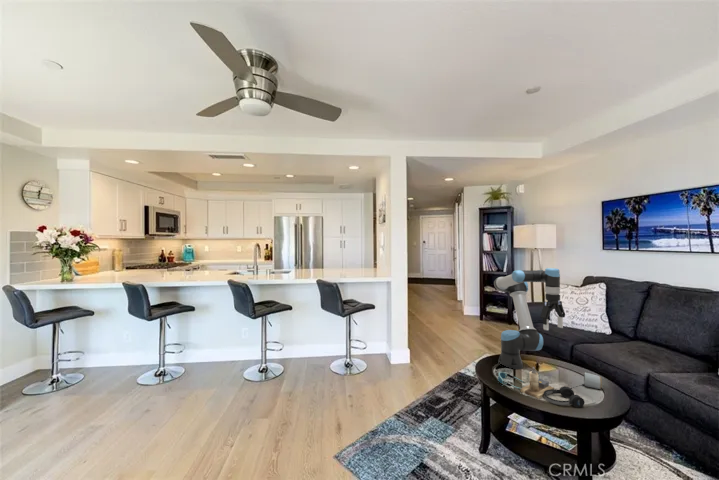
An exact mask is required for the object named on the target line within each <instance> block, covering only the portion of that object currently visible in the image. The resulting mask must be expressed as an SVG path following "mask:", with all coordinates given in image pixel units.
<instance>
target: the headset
mask: <svg viewBox="0 0 719 480" xmlns="http://www.w3.org/2000/svg"><path fill="white" fill-rule="evenodd" d="M581 386H582V387H586V386H585V384H584V383H583V384H581V385H577V386H573V387H569V386H566V385H565V386H562V387H560V388H559V389H555V388H554V389H550V390H546V391H544V396H543V398H544V400H546V401H547V402H548V403H549V404H552V405H554V406H555V405H556V406H564V407H565V406H573V407H574V408H583V406H585V403H586V402H585V399H584V398H582V397H581V396H580V395H578V394H575V392H574V390H573V389H575V388H577V387H581ZM555 394H556V395H558V394H559V395H561V397H563V398H566V399H568V400H558V399H554V398H551V397H550V396H549V395H555Z"/></svg>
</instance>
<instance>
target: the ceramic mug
mask: <svg viewBox="0 0 719 480" xmlns="http://www.w3.org/2000/svg"><path fill="white" fill-rule="evenodd" d="M583 384H585V386H584V387H588V388H593V389H596V390H597V389H598V390H601V389H602V386H603V385H602V384H603V379H602V376H599V375H597V374H593V373H589V372H584V373H583Z"/></svg>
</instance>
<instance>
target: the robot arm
mask: <svg viewBox="0 0 719 480" xmlns="http://www.w3.org/2000/svg"><path fill="white" fill-rule="evenodd" d="M529 283H545V285H544V287H545V288H544V292H545V300H547V302H546V301H544V302H543V306H542V310H541V314H540V319H542V323H543V325H542V326H543V327H542V328H543V330H544V331H549V330H550V325H549V321H550V320H549V317H550V314H551V312H552V311H553V310H554V311H555V313H556V315H557V320H556V321H557V328H560V329H564V326H563V325H564V324H563V323H564V318H566V312H565V309H564V307H563V302H562V301H561V295H560V294H561V289H560V288H561V273H560V269H559V268H554V267H549V268H548V267H546V268H545V269H543V270H542V269H537V270H535V269H534V270H530V269H529V270H523V269H517V270H514V271H512V272H511V274H509V275H506V276H499V277H497V278H496V279H495V280H494V281H493V285H494V288H495V289H496V290H498V291H499V292H501V293H509V297H511V298H512V302H513V305H514V310H515V312H516V317H517V320H518V321H517V322H518V324H519V329H518V330H513V329H507V330H503V331H502V332H501V335H500V355H499V357H498V363H499V362H500V363H501V364H502V365H504V366H506V367H509V368H508V369H510V368H513V369H512V370H520V369H521V370H522V369H523V367H524V366H523V365H524V364H523V360H522V358H521V354H520V353H521V352H520V351H529V352H530V351H532V352H534V351H536V352H537V351H540V350H542V349H543V346H544V337H543V335H542V334H541V333H539V332H538V330H537V329H536V328H535V327H534V324H533V321H532V317H531V313H530V309H529V306H528V302H527V298H526V295H527V292H528V291H529ZM506 367H505V368H506Z"/></svg>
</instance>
